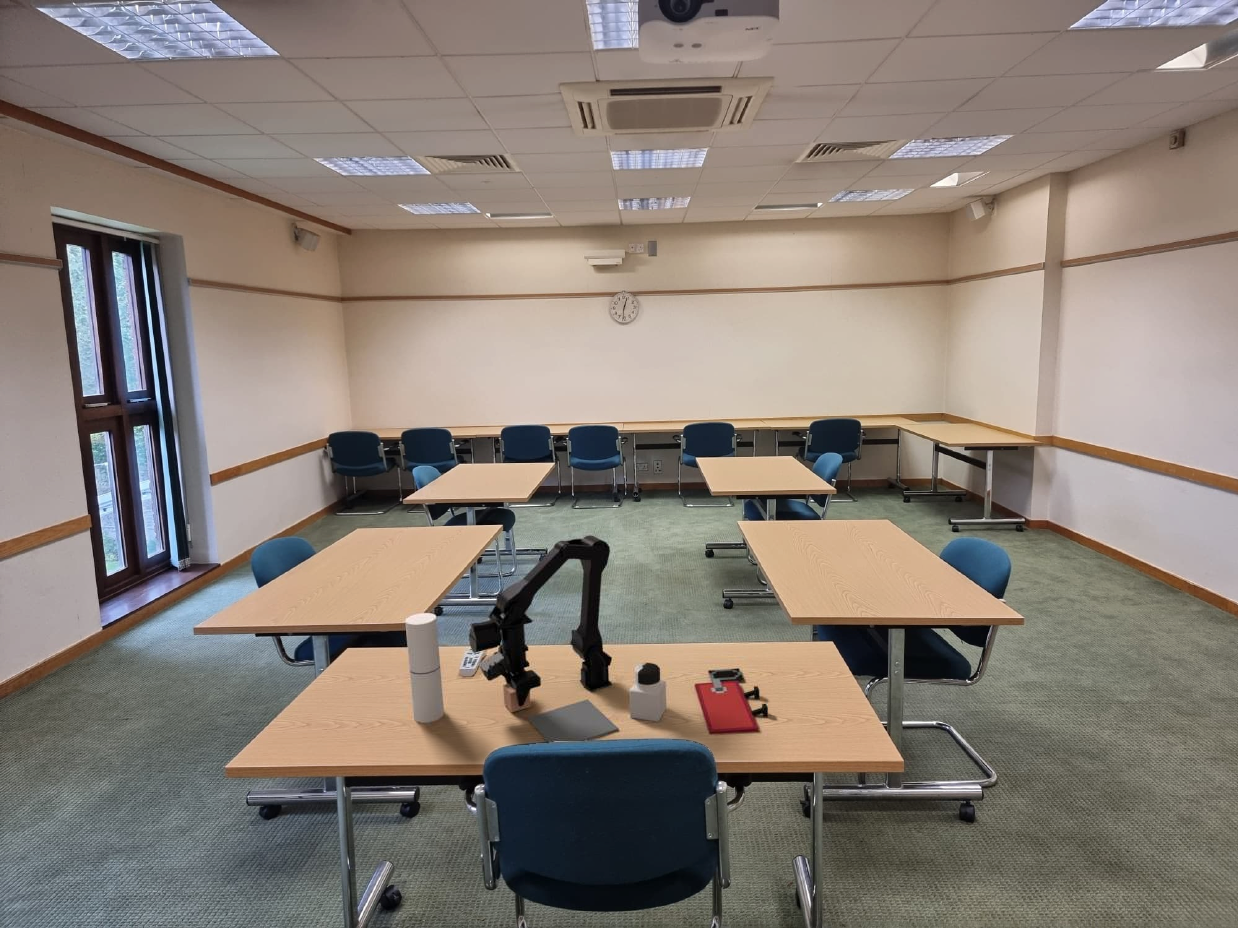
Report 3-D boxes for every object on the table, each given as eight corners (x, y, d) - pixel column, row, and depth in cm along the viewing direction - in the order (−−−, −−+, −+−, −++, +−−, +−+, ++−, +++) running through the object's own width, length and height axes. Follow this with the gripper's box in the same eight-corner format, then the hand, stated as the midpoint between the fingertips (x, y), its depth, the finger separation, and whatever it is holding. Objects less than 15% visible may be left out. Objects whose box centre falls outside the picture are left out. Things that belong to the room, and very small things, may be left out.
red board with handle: (745, 670, 190) (690, 674, 190) (745, 661, 190) (690, 665, 189) (774, 732, 161) (709, 737, 160) (774, 721, 160) (709, 726, 160)
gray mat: (587, 700, 177) (587, 699, 177) (618, 730, 163) (618, 728, 163) (528, 719, 169) (528, 717, 169) (555, 751, 155) (555, 749, 155)
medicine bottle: (666, 707, 172) (665, 661, 170) (658, 722, 166) (657, 674, 164) (638, 703, 175) (637, 658, 173) (629, 717, 168) (628, 671, 166)
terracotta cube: (523, 698, 178) (521, 679, 177) (530, 706, 174) (529, 687, 173) (504, 703, 176) (503, 684, 175) (511, 712, 172) (510, 693, 171)
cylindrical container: (417, 725, 168) (408, 626, 163) (411, 712, 174) (402, 616, 170) (447, 717, 171) (439, 620, 167) (440, 704, 177) (432, 610, 173)
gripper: (469, 636, 176) (474, 694, 179) (494, 664, 160) (499, 727, 163) (511, 626, 182) (515, 682, 184) (540, 653, 166) (543, 714, 168)
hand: (517, 701), depth 175 cm, fingers closed on terracotta cube, 5 cm apart
